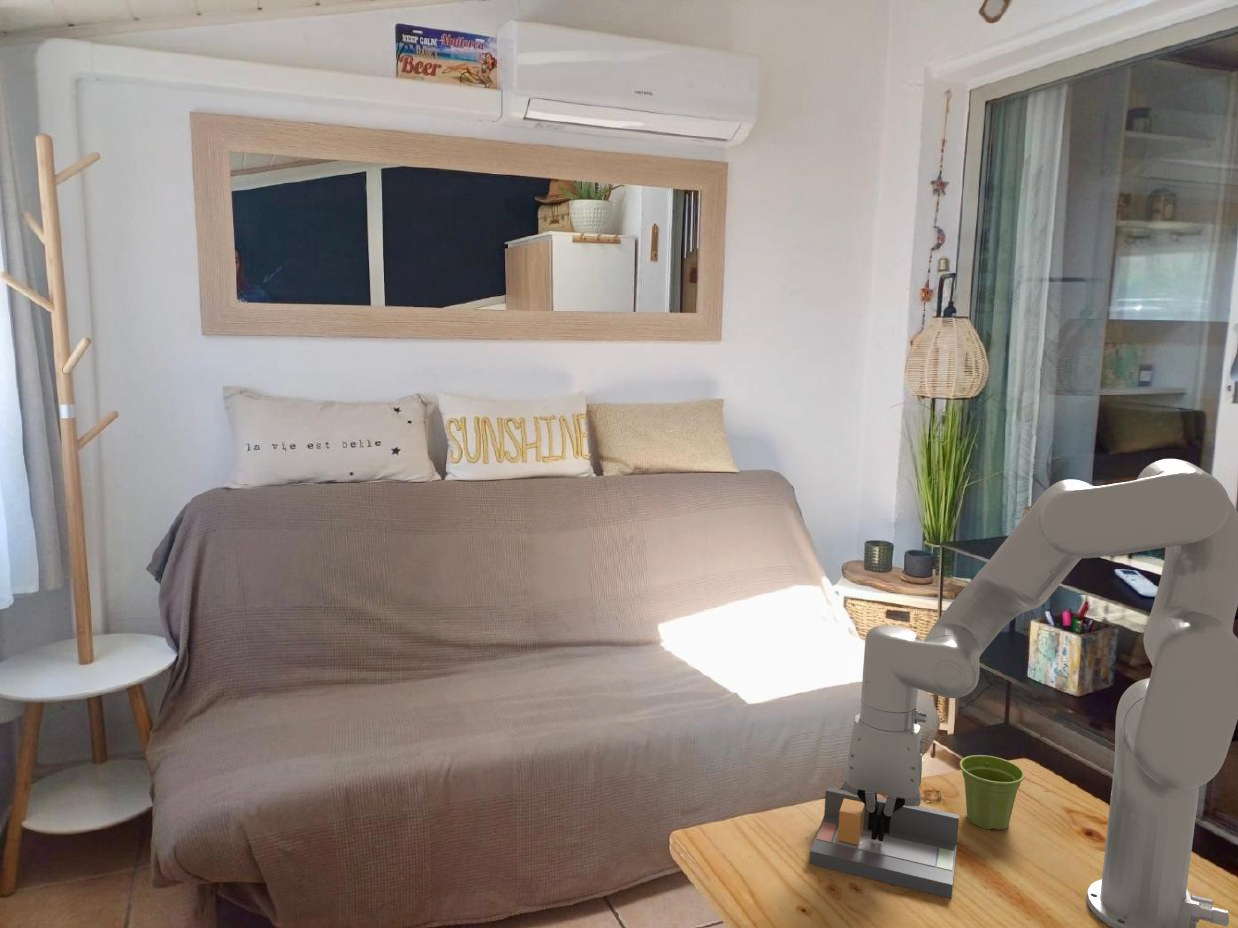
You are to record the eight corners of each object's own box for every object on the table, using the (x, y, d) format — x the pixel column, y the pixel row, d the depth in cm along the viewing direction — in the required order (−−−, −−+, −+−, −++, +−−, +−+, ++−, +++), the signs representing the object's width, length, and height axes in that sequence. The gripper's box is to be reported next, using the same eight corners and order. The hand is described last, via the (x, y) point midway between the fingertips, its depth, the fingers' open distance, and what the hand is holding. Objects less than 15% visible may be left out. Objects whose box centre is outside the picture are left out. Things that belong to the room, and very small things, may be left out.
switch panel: (956, 852, 134) (959, 814, 133) (951, 898, 123) (954, 856, 122) (824, 823, 141) (827, 786, 140) (809, 863, 130) (811, 824, 129)
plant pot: (944, 818, 144) (948, 766, 142) (972, 799, 150) (977, 748, 149) (1002, 843, 137) (1007, 789, 136) (1030, 822, 143) (1035, 769, 142)
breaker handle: (862, 831, 135) (864, 802, 134) (858, 844, 131) (860, 815, 131) (842, 826, 136) (844, 798, 135) (837, 839, 132) (839, 810, 132)
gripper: (945, 714, 130) (934, 835, 133) (838, 695, 136) (830, 811, 138) (941, 735, 123) (930, 862, 126) (829, 714, 129) (821, 836, 131)
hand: (878, 835), depth 132 cm, fingers closed
